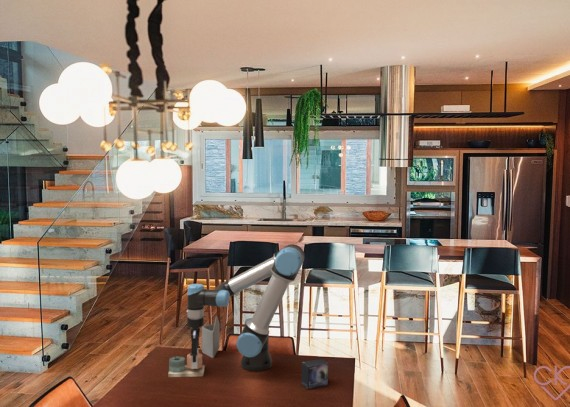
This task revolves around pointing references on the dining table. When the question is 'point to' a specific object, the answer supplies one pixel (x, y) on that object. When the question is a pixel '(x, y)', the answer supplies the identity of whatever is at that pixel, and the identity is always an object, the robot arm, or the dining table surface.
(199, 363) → the loose gear
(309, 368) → the small box
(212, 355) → the grey magazine holder
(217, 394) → the dining table surface
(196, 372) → the gear board
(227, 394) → the dining table surface
